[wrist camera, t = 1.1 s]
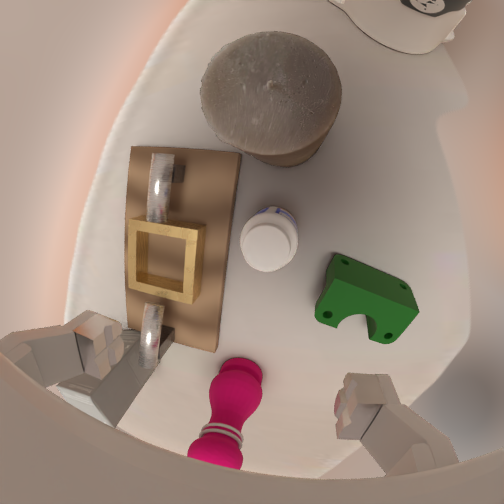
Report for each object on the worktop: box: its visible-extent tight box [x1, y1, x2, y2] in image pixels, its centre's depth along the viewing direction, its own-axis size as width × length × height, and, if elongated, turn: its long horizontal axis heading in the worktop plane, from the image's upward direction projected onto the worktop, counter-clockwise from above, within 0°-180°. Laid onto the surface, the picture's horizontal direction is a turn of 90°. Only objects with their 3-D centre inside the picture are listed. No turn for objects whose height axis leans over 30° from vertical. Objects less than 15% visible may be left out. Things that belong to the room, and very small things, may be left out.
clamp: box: [315, 254, 419, 344], centre depth 29 cm, size 12×6×9 cm, turn 65°
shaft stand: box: [125, 146, 241, 369], centre depth 30 cm, size 26×14×9 cm, turn 172°
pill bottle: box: [240, 207, 298, 272], centre depth 27 cm, size 5×5×10 cm
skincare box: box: [56, 330, 160, 428], centre depth 33 cm, size 8×7×16 cm
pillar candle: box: [200, 31, 342, 167], centre depth 21 cm, size 10×10×15 cm
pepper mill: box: [187, 358, 262, 470], centre depth 28 cm, size 7×7×20 cm
